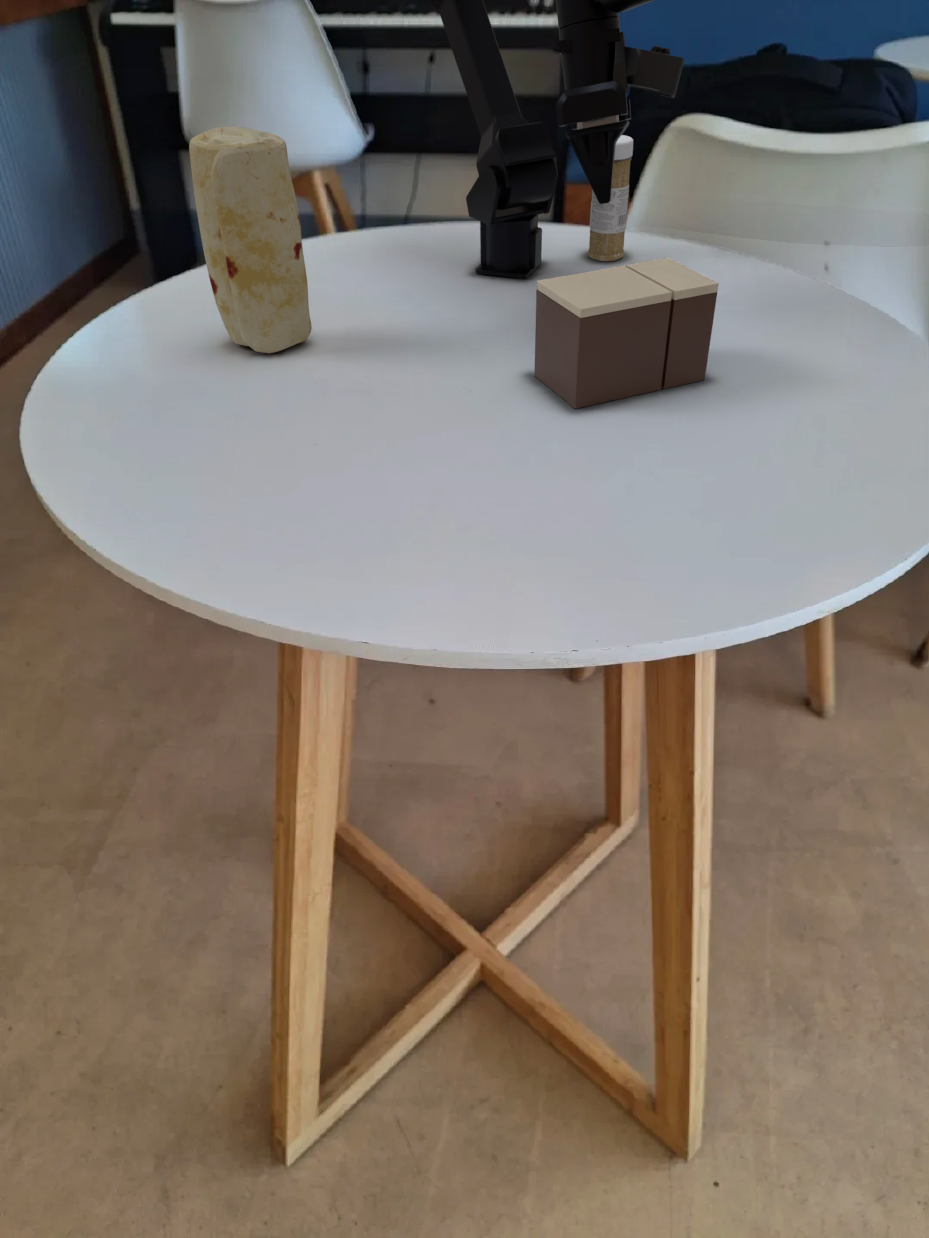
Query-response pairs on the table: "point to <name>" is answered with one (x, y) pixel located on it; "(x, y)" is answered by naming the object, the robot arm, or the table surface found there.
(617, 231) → the sprinkles bottle
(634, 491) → the table surface
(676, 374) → the cake slice
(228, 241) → the food model
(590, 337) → the box
